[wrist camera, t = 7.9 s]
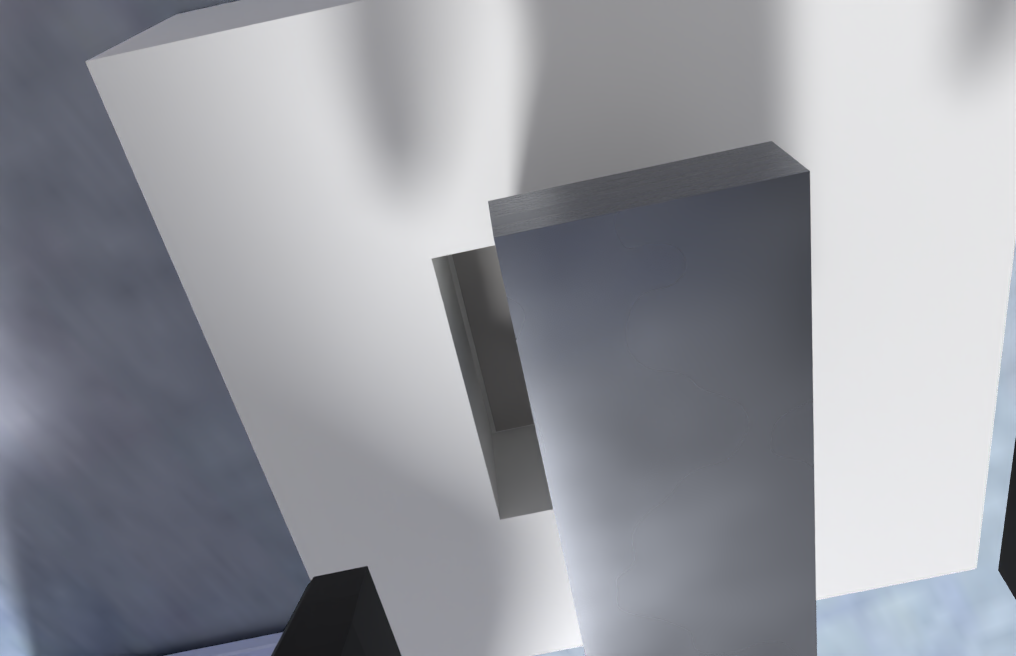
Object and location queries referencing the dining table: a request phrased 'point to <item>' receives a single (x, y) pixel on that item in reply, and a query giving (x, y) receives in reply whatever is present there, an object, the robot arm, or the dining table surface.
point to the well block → (478, 280)
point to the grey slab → (674, 398)
